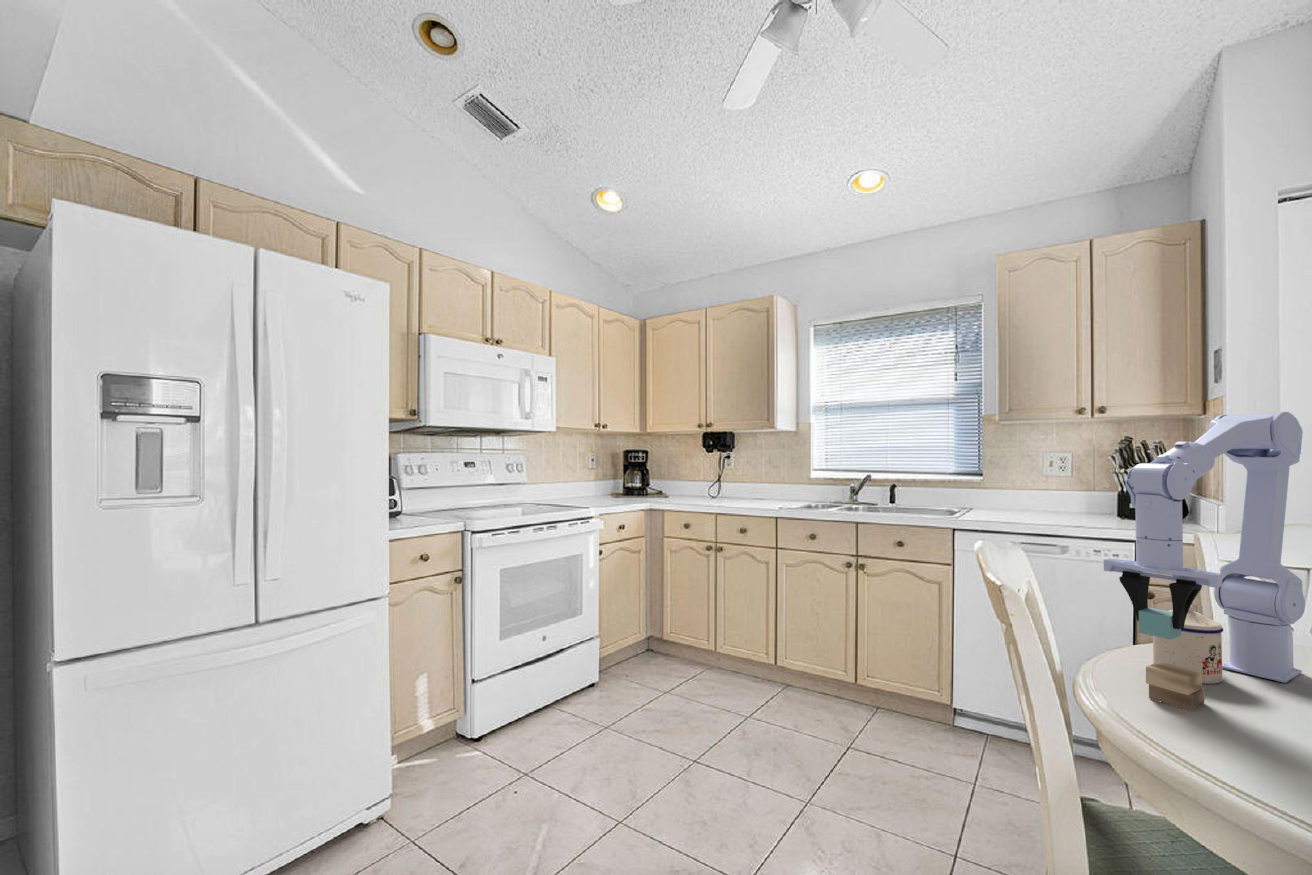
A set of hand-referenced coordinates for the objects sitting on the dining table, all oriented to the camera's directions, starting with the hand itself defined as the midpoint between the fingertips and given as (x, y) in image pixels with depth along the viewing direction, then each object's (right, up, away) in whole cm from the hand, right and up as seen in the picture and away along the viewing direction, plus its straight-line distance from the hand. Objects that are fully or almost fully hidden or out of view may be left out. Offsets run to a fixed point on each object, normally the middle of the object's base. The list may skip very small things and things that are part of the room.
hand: (1160, 624), depth 94 cm
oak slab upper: (-2, -8, -5) cm, 9 cm away
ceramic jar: (+10, -10, +6) cm, 16 cm away
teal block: (0, -2, 0) cm, 2 cm away
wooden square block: (-2, -10, -5) cm, 12 cm away
